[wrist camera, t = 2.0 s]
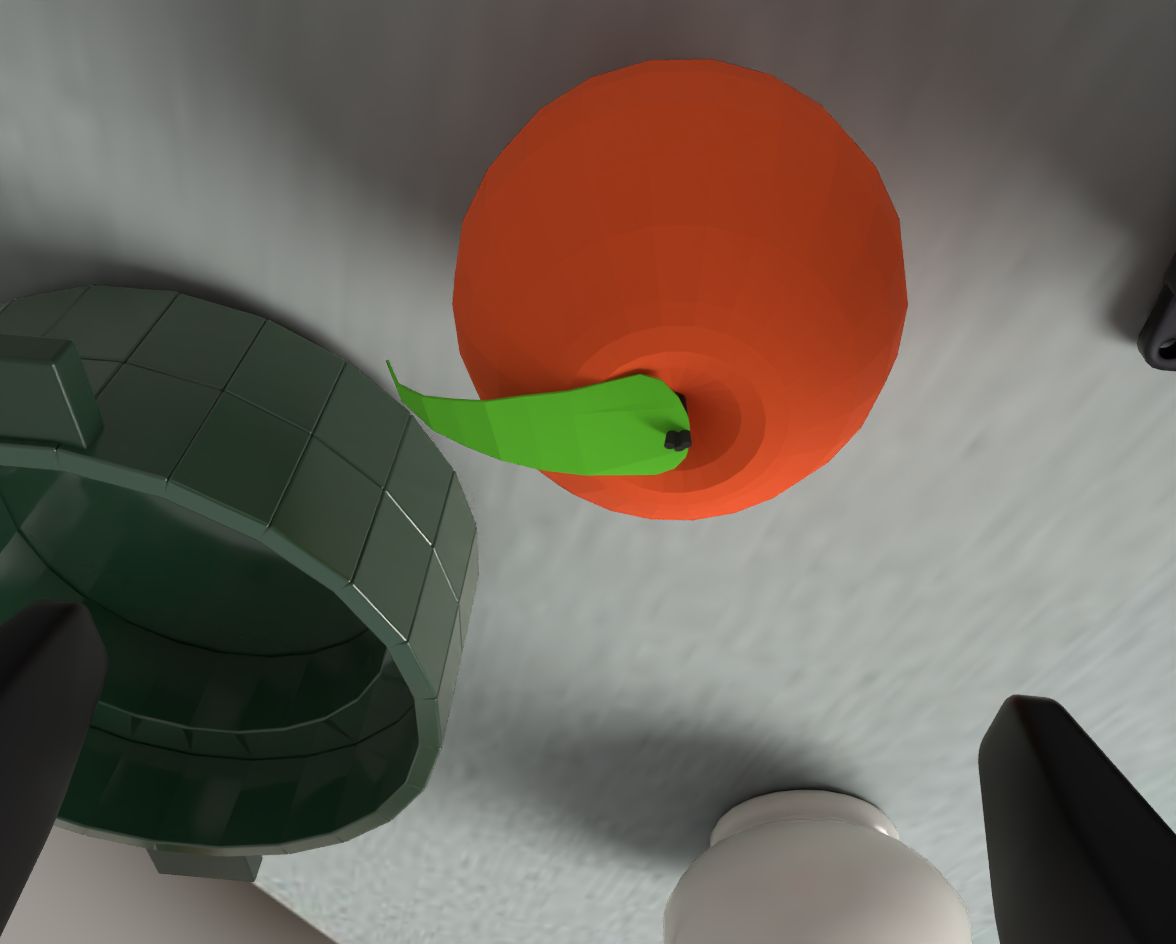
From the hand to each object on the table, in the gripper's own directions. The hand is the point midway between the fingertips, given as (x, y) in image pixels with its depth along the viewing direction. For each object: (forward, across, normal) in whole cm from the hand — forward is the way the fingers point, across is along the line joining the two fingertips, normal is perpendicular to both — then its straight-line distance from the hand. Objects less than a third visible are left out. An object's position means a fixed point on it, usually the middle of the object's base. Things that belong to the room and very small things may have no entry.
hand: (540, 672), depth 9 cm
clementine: (+11, -1, 0) cm, 11 cm away
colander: (+11, +9, +9) cm, 17 cm away
